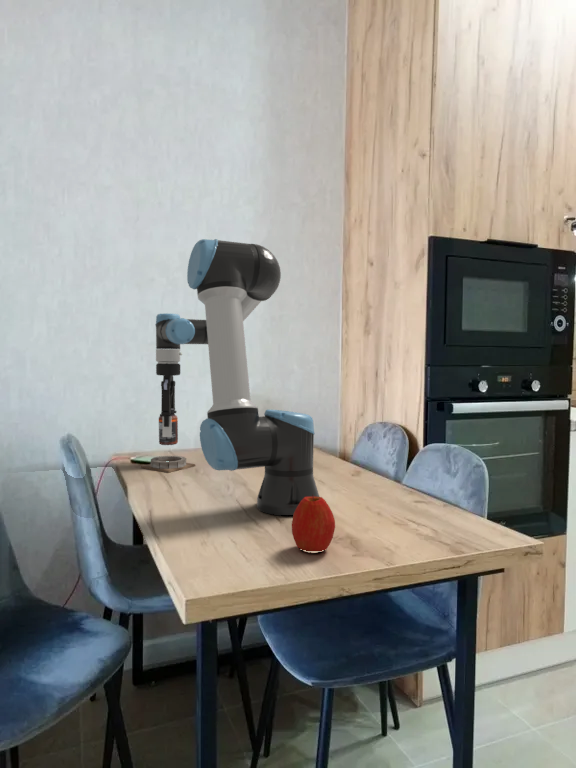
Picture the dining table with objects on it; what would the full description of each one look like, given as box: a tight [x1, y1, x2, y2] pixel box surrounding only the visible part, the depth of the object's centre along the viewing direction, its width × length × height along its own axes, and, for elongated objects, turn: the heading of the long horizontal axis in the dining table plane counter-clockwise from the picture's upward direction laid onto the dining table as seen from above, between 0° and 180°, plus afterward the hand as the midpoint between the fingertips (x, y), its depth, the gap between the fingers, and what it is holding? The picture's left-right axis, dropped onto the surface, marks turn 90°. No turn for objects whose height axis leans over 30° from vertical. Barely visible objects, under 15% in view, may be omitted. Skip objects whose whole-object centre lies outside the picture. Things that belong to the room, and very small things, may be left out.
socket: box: [140, 455, 196, 474], centre depth 174 cm, size 12×12×3 cm
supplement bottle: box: [158, 408, 179, 446], centre depth 173 cm, size 6×6×11 cm
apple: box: [291, 496, 336, 551], centre depth 102 cm, size 8×8×11 cm
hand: (168, 435), depth 173 cm, fingers closed on supplement bottle, 6 cm apart
